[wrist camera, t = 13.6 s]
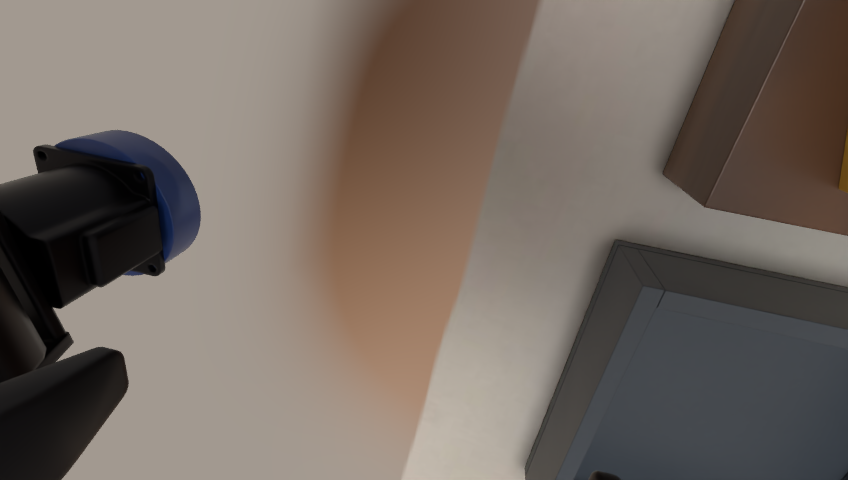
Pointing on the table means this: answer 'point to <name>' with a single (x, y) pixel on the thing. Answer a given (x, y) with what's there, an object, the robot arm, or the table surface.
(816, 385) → the tray
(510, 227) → the table surface
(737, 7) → the square wooden tile
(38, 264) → the robot arm
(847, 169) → the puzzle block
